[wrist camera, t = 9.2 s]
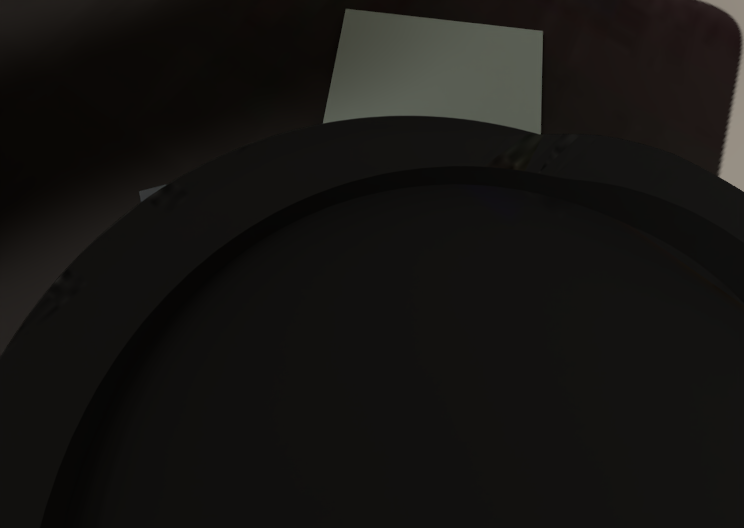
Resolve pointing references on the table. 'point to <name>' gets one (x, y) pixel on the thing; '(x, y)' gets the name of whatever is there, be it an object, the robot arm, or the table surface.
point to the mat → (436, 70)
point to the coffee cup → (393, 342)
